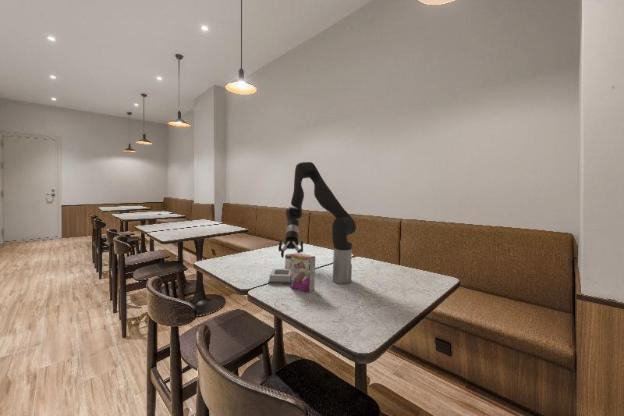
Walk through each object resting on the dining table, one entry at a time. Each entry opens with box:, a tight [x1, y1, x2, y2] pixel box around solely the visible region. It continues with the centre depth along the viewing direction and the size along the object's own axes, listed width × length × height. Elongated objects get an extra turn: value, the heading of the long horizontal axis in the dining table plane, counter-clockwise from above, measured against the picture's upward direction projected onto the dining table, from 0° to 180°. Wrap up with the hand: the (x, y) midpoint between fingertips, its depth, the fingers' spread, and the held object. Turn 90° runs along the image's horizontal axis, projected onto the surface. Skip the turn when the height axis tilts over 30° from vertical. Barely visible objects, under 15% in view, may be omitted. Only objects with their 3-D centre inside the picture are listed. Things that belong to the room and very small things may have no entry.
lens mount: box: [267, 268, 291, 286], centre depth 139 cm, size 12×12×4 cm
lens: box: [284, 253, 292, 269], centre depth 150 cm, size 5×5×10 cm
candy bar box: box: [289, 252, 316, 293], centre depth 127 cm, size 11×5×16 cm, turn 58°
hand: (290, 257), depth 153 cm, fingers open, 8 cm apart
